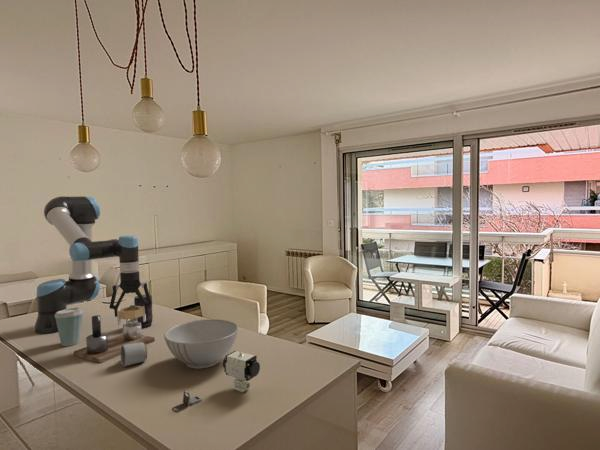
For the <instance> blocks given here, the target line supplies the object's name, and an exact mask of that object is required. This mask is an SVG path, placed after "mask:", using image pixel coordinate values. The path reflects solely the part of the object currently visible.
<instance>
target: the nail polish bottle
mask: <svg viewBox="0 0 600 450" xmlns="http://www.w3.org/2000/svg"><path fill="white" fill-rule="evenodd" d="M101 325H102V324H101V315H98V314H97V315H92V316H91V331H92V333H91V335H90V334H89V335H87V336H86V337H85V338H86V339H85V341H86V342H85V343H86V344H85V345H86V347H87V354H89V355H96V354H101V353H104V352H106V351H107V350H108V339H109V338H108V334H107V333H106V332H102V326H101Z"/></svg>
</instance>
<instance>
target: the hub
mask: <svg viewBox="0 0 600 450" xmlns="http://www.w3.org/2000/svg"><path fill="white" fill-rule="evenodd" d="M125 322H126V323H124V324H122V334H123V340H124V341H134V340H138V339H140V338H141V337H142V335H143V334H142V333H143V330H142V329H143V328H141V322H137V318H135V319H125Z"/></svg>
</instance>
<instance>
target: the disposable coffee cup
mask: <svg viewBox="0 0 600 450" xmlns="http://www.w3.org/2000/svg"><path fill="white" fill-rule="evenodd" d="M83 313H84V311H83V310H82V307H81V306H76V307H70V308H67V309H64V310H61V311H58V312H56V314H55V318H56V323H57V327H58V332H57V333H58V336H59V340H60V344H61V346H63V347H69V346H74V345H77V344H79V342H80V337H81V329H82V321H83V320H82V319H83Z"/></svg>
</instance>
